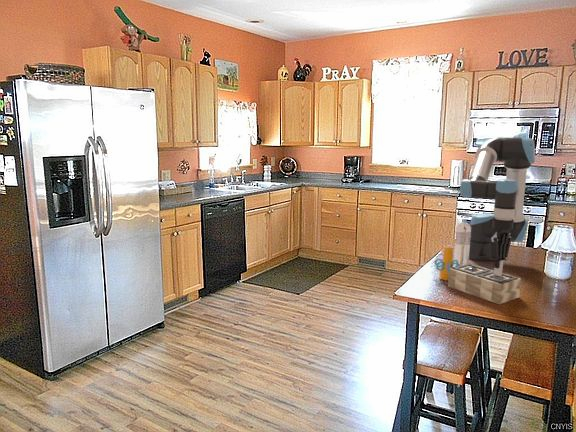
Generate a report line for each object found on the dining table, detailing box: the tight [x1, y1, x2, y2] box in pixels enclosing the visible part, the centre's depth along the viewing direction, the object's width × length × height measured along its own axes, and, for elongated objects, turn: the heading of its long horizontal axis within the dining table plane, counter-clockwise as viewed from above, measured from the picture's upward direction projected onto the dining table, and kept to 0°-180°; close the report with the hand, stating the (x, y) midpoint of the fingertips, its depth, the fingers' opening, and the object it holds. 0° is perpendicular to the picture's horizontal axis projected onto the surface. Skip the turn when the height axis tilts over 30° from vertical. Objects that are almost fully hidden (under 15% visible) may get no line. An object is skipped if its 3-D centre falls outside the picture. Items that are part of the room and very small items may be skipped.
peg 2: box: [492, 275, 503, 280], centre depth 185 cm, size 4×4×8 cm
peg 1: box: [466, 267, 477, 272], centre depth 195 cm, size 4×4×8 cm
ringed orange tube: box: [434, 245, 460, 281], centre depth 206 cm, size 12×10×15 cm
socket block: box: [447, 263, 522, 305], centre depth 190 cm, size 14×24×8 cm, turn 33°
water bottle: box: [453, 218, 472, 267], centre depth 218 cm, size 7×7×25 cm
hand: (497, 275), depth 184 cm, fingers closed
